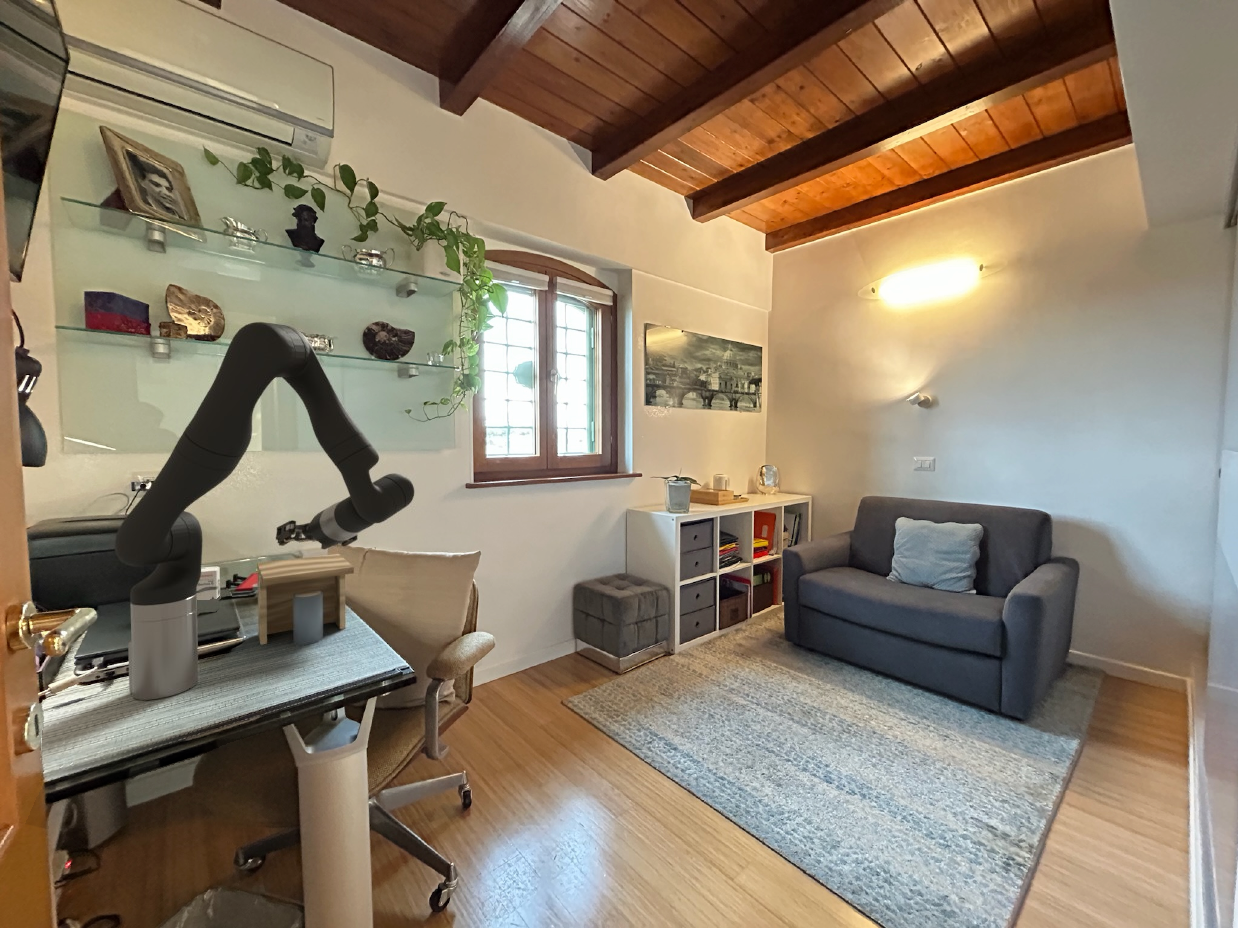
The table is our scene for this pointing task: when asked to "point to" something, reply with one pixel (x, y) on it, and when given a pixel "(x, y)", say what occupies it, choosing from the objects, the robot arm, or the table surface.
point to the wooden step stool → (299, 590)
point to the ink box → (209, 583)
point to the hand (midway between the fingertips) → (302, 543)
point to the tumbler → (307, 617)
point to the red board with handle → (244, 585)
